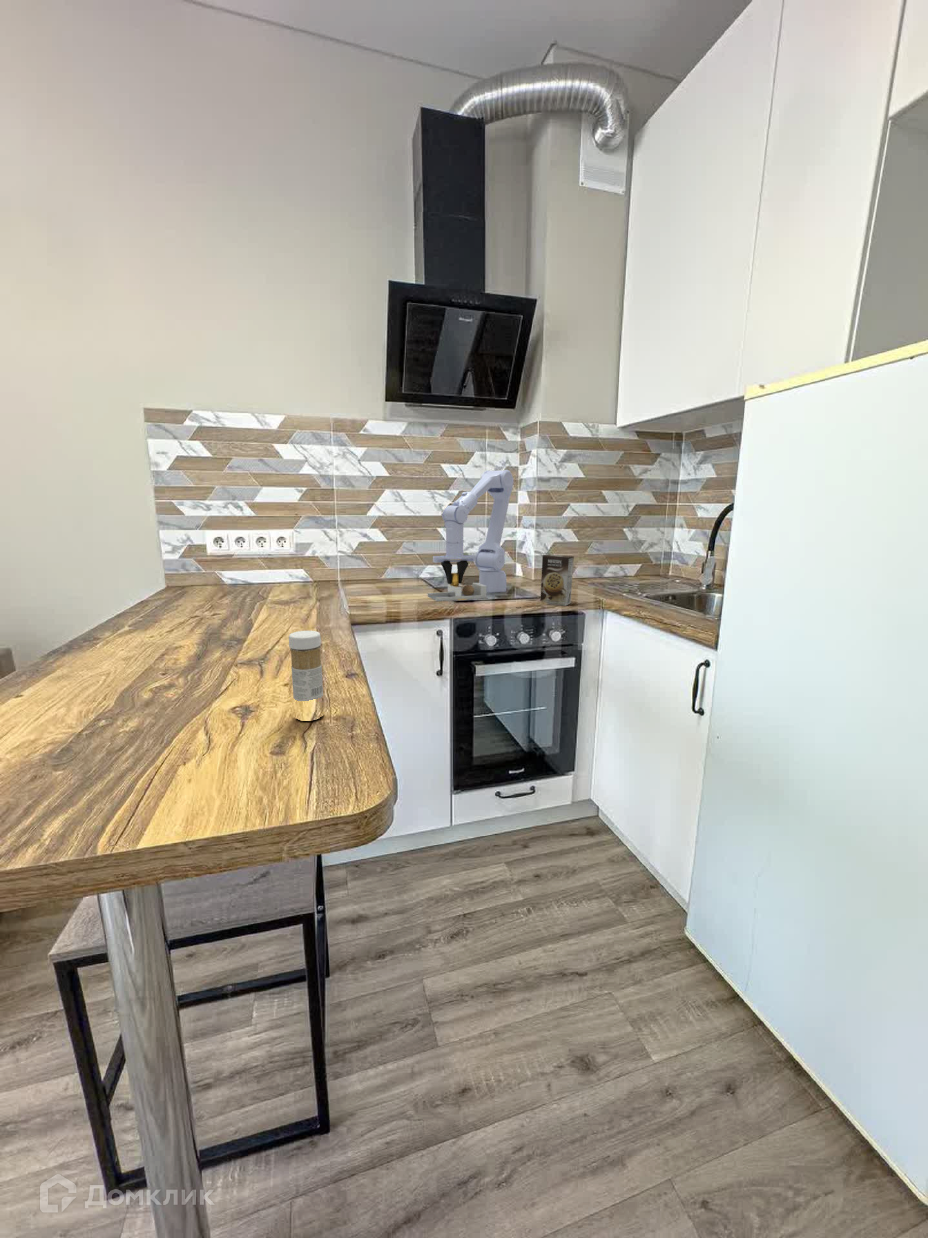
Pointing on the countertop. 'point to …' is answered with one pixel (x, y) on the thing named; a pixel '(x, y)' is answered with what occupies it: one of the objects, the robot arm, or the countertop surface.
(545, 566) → the coffee box
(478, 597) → the cracker base
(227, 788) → the countertop surface
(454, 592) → the cracker jaw
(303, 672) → the spice jar
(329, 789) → the countertop surface
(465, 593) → the walnut
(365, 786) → the countertop surface
